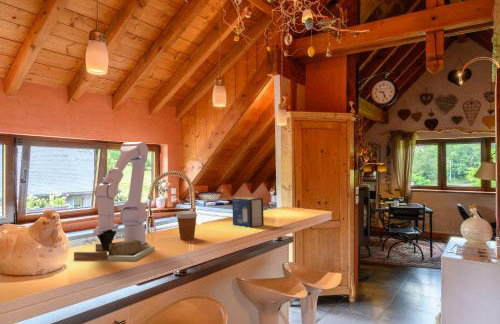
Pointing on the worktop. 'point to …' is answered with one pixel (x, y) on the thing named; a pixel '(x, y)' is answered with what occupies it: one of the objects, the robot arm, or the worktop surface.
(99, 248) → the walnut chute
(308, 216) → the worktop surface
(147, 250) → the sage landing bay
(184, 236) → the disposable coffee cup
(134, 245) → the stone block
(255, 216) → the protein box
